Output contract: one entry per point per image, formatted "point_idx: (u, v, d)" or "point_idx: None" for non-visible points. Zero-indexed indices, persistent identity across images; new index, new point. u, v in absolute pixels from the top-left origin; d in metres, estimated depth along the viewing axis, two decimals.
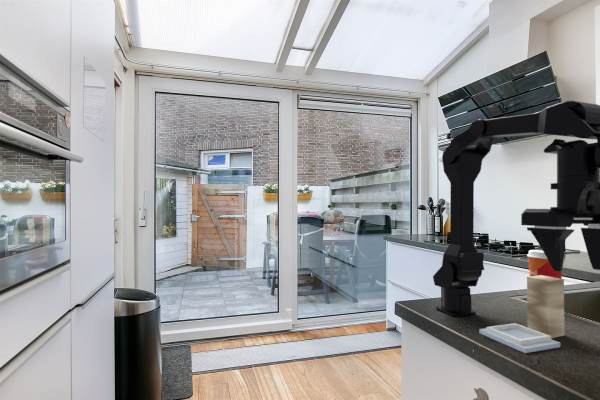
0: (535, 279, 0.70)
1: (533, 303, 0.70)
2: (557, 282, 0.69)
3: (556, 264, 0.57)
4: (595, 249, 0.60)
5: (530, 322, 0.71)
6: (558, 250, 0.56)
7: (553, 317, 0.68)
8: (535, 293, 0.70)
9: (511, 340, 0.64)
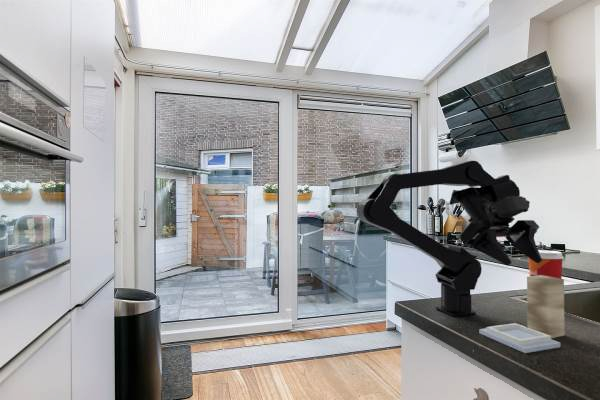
0: (535, 279, 0.70)
1: (533, 303, 0.70)
2: (557, 282, 0.69)
3: (504, 259, 0.72)
4: (528, 250, 0.77)
5: (530, 322, 0.71)
6: (497, 247, 0.73)
7: (553, 317, 0.68)
8: (535, 293, 0.70)
9: (511, 340, 0.64)
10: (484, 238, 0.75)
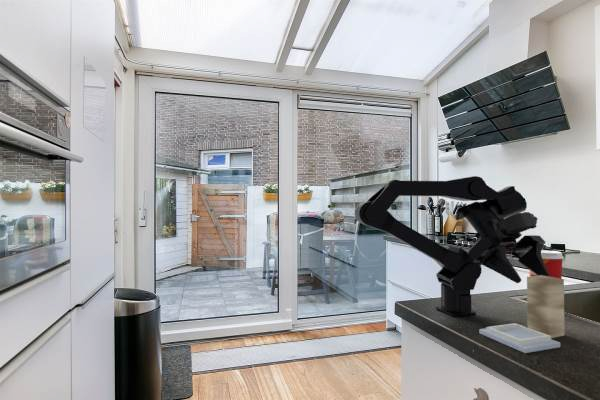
0: (535, 279, 0.70)
1: (533, 303, 0.70)
2: (557, 282, 0.69)
3: (514, 277, 0.72)
4: (535, 266, 0.77)
5: (530, 322, 0.71)
6: (507, 265, 0.72)
7: (553, 317, 0.68)
8: (535, 293, 0.70)
9: (511, 340, 0.64)
10: (493, 255, 0.74)
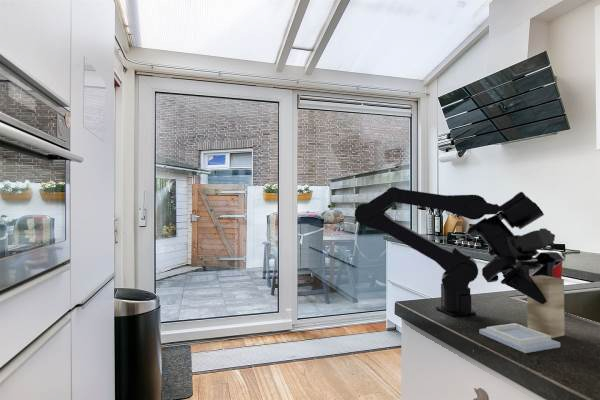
0: (535, 279, 0.70)
1: (533, 303, 0.70)
2: (557, 282, 0.69)
3: (539, 297, 0.69)
4: None
5: (530, 322, 0.71)
6: (531, 285, 0.70)
7: (553, 317, 0.68)
8: None
9: (511, 340, 0.64)
10: (516, 274, 0.72)
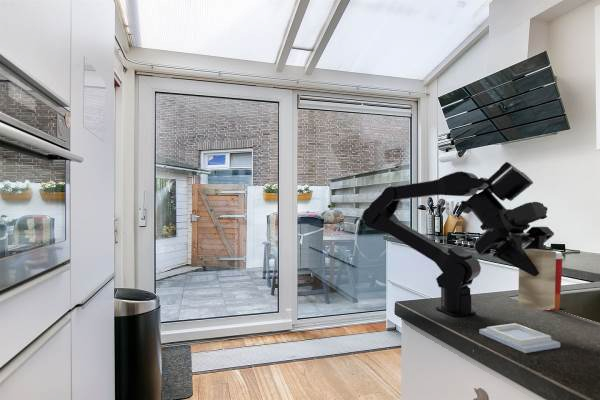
0: (528, 251, 0.69)
1: (525, 275, 0.70)
2: (549, 254, 0.68)
3: (531, 270, 0.68)
4: None
5: (522, 295, 0.70)
6: (523, 257, 0.69)
7: (545, 289, 0.67)
8: None
9: (511, 340, 0.64)
10: (509, 247, 0.70)
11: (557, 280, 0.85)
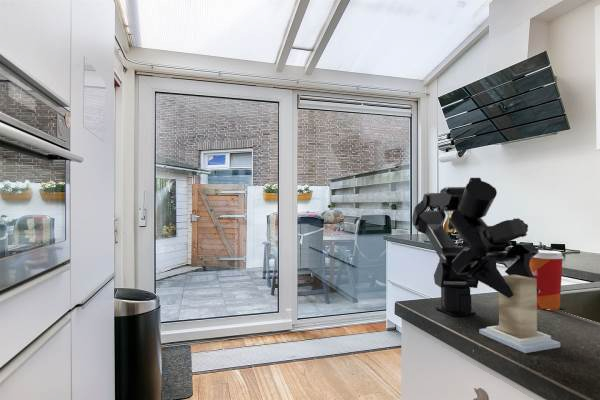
0: (506, 279, 0.67)
1: (505, 303, 0.67)
2: (529, 282, 0.65)
3: (506, 291, 0.65)
4: None
5: (502, 324, 0.67)
6: (497, 277, 0.66)
7: (525, 318, 0.65)
8: None
9: (511, 340, 0.64)
10: (483, 266, 0.68)
11: (557, 280, 0.85)
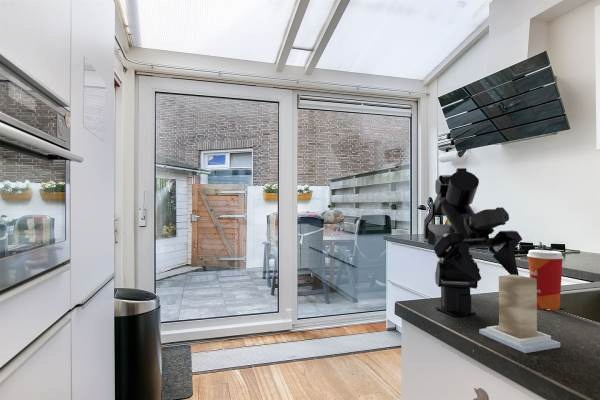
0: (506, 279, 0.67)
1: (505, 303, 0.67)
2: (529, 282, 0.65)
3: (475, 275, 0.71)
4: (507, 263, 0.75)
5: (502, 324, 0.67)
6: (468, 262, 0.71)
7: (525, 318, 0.65)
8: (506, 294, 0.67)
9: (511, 340, 0.64)
10: (457, 251, 0.73)
11: (557, 280, 0.85)
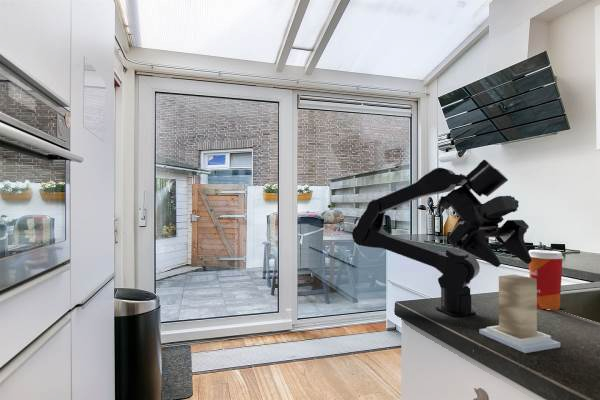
0: (506, 279, 0.67)
1: (505, 303, 0.67)
2: (529, 282, 0.65)
3: (494, 261, 0.70)
4: (518, 250, 0.76)
5: (502, 324, 0.67)
6: (486, 248, 0.71)
7: (525, 318, 0.65)
8: (506, 294, 0.67)
9: (511, 340, 0.64)
10: (473, 239, 0.73)
11: (557, 280, 0.85)
